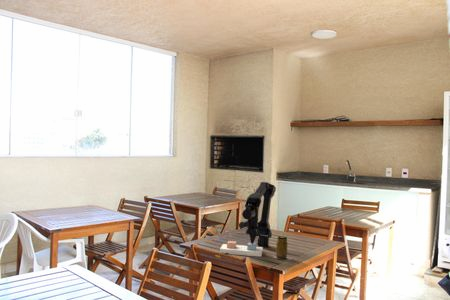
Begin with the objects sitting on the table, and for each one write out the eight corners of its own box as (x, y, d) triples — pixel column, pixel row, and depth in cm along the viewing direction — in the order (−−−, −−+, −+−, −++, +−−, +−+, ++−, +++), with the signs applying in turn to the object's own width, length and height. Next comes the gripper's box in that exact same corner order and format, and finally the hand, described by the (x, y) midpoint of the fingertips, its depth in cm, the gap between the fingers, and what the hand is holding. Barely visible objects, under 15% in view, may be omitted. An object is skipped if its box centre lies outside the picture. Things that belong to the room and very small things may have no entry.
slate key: (256, 249, 230) (256, 243, 230) (255, 252, 226) (256, 245, 226) (247, 249, 231) (248, 242, 231) (247, 251, 226) (247, 244, 226)
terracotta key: (236, 248, 232) (236, 241, 232) (235, 250, 227) (235, 243, 227) (227, 247, 233) (228, 240, 233) (226, 249, 228) (227, 242, 228)
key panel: (262, 251, 233) (262, 247, 233) (261, 256, 222) (261, 252, 222) (222, 248, 237) (223, 243, 237) (219, 253, 225) (219, 248, 225)
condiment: (280, 255, 226) (281, 234, 226) (292, 258, 220) (293, 237, 220) (272, 257, 221) (273, 236, 221) (285, 261, 215) (286, 239, 215)
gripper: (241, 213, 239) (240, 238, 239) (237, 218, 220) (236, 246, 220) (259, 214, 237) (258, 240, 237) (257, 220, 219) (256, 247, 219)
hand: (252, 243), depth 228 cm, fingers closed
